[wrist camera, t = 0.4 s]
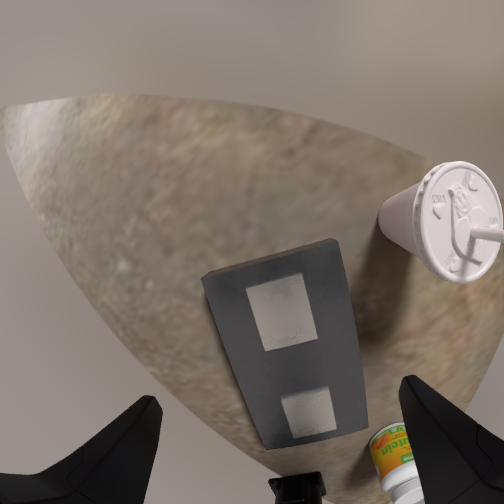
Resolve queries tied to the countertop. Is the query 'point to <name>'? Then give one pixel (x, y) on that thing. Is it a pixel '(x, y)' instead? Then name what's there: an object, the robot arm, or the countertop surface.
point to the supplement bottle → (396, 464)
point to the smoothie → (448, 221)
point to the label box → (292, 343)
